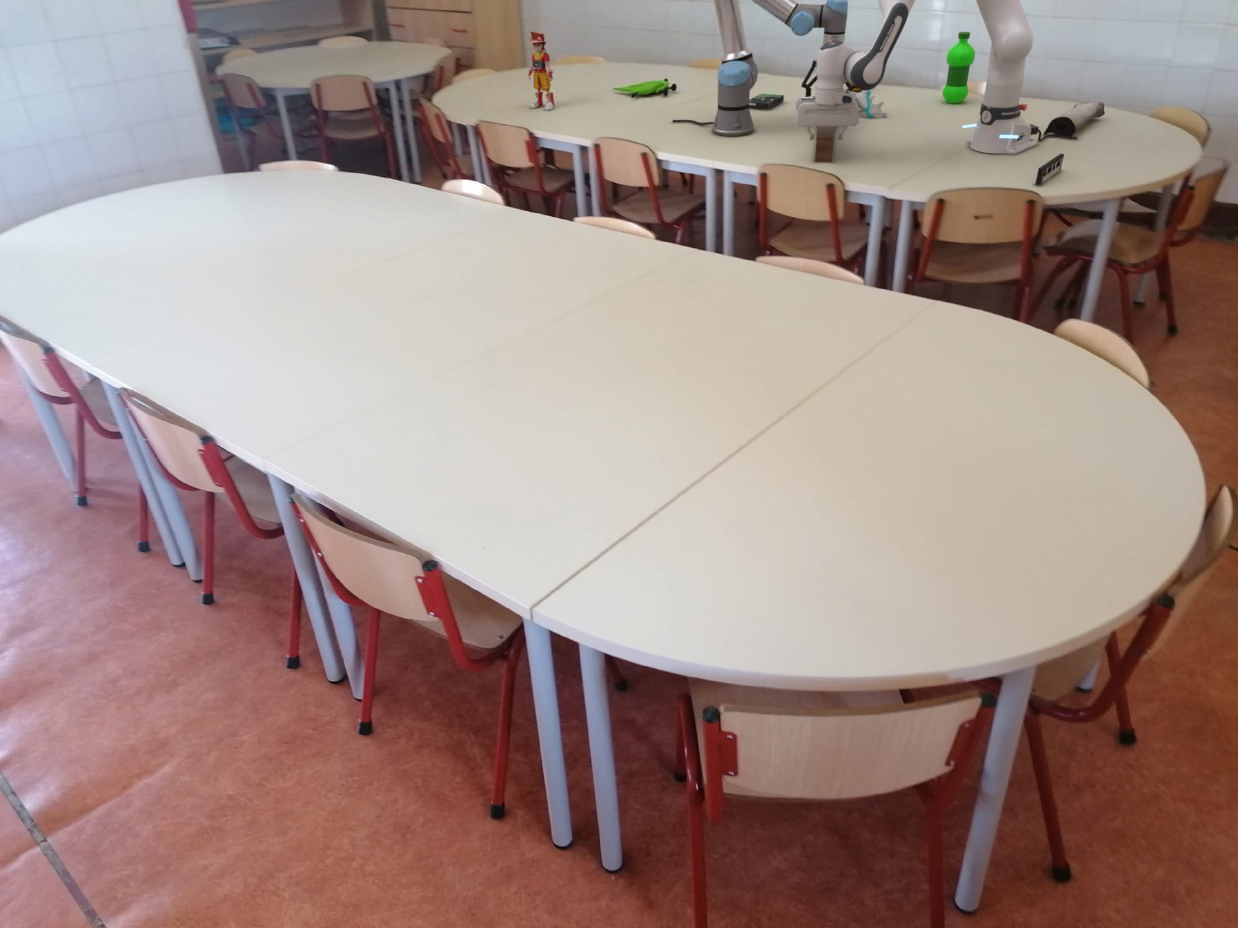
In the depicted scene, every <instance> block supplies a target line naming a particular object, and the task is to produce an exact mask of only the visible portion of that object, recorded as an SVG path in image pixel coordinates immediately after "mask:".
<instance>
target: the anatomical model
mask: <svg viewBox="0 0 1238 928" xmlns="http://www.w3.org/2000/svg"><path fill="white" fill-rule="evenodd" d="M855 94H856V103H857V105H858V110H859V109H860V110H863V111H864V112H865V114H866V116H867V117H868V118H869V119H870V118H875V117H878V116H879V117H880V116H882V117H885V116H887V115H888V111H883V110H882V109H881V108H882V106H883V105H884V104H885V102H884V101H880V102H878V103H873V102H872V101H873V100H874V98H875V96H876V95H872V92H871V90H867V91H864V90H861V91H860V92H858V93H855ZM871 95H872V96H871Z"/></svg>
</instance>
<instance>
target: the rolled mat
mask: <svg viewBox="0 0 1238 928" xmlns="http://www.w3.org/2000/svg"><path fill="white" fill-rule="evenodd" d="M1105 113H1106V112H1105V104H1104V102H1102V101H1096V100H1091V101H1085V102H1079V103H1076V104H1074V105H1073V107H1072V108H1071V109H1069V110H1067V111H1065V112H1063V113H1061V114H1060V115H1058V116H1056V117H1054V118H1053V119H1051V120H1050V122H1049V123H1048V125H1047V127H1046V129H1045V130H1044V132H1043V136H1046V135H1049V134H1056V135H1062V136H1073V137H1074V135H1076V134H1077V132H1078V131H1079V130H1080V129H1081V128H1082V127H1083V126H1084V125H1086V124H1087V123H1088V122H1089V121H1090V120H1091V119H1095V118H1096V119H1097V118H1101V117H1103V116H1104V115H1105Z"/></svg>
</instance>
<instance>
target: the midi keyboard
mask: <svg viewBox="0 0 1238 928" xmlns="http://www.w3.org/2000/svg"><path fill="white" fill-rule="evenodd" d="M1064 157H1065V153H1059V154H1058V155H1056V156H1055V157H1052V159H1051V160H1049V161H1047V162H1045V164H1042V165H1041V166H1039V167H1038V169H1037V175H1036V179H1035V186H1040V185H1042V183H1044V182H1045V181H1047V180H1048V179H1049V178H1051V177H1052V176H1054V175H1055V174H1056V173H1058V172H1060V171H1061V170H1062V165H1063V161H1064Z"/></svg>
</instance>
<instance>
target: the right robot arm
mask: <svg viewBox="0 0 1238 928" xmlns="http://www.w3.org/2000/svg"><path fill="white" fill-rule="evenodd" d="M915 2H916V0H878V5H879V8H880V10H881V14H882V24H881V26H880V29H879V31H878V33H877V34H876V37H875V38H874V41H873V43H872V45H871V47H870V49H869V50H868V51H867V52H865V51H863V50H861V49H857V48H854V47H851V46H849V45H848V44H846V43H845V41H844V42H842V41H832V42H828V43H826V44H824V45H823V44H822V46H820V48H819V49H818V55H817V60H816V61H817V67H816V73H815V75H817V81H816V82H815V90H814V95H813V96H812V95H811V96H810V97H805V96H801V97H799V98H798V99H797V100H796V102H795V109H796V111H797V114H796V120H795V121H796V123H795V125H796V126H797V127H799V128H800V127H803V128H804V127H806V132H807V133H808V135H809V139H808V140H809V141H814V140H815V133H812V131H811V130H812V127H818V126H835V127H842V131H841V132H839V133H838V136H837V140H838V141H842V140H843V139H844V135H845V133H846V131H847V130H848V127H856V126H857V125H858V124H859V108H858V105H857V103H856V94H857V93H856V92H854V91H852V92H851V91H848V90H847V89H845V88H844V85H845V82H850V83H852V84H854V85H855V86H856V87H857V88H858V89H860V90H861V91H862V90H864V91H867V90H868V91H869V90H870V91H872V90H874V89H875V88H876V87H878V86H879V84H881V82H882V80H883V78H884V75H885V73H886V68H887V64H888V61H889V58H890V56H891V54H892V52H893V50H894V48H895V46H896V44H897V42H898V40H899V37H900V36H901V34H902V32H903V29H904V27H905V26H906V23H907V21H908V18H909V15H910V12H911V10H912V7H913V6H914V4H915ZM975 2H976V5H977V7H978V10H979V12H980V15H981V18H982V20H983V23H984V25H985V28H986V30H987V34H988V36H989V38H990V42H991V45H990V51H989V59H988V67H987V78H986V84H985V88H984V95H983V101H982V103H981V104H980V108H979V117H978V118H977V121H976V123H974V124H973V123H972V124H965V125H962V128H963V129H964V128H966V129H967V128H973V127H974V132H973V135H972V138H971V139H970V140H969V143H970V146H969V147H970V149H972V150H973V151H976V152H979V153H983V154H984V153H985V154H1006V155H1007V154H1008V155H1016V154H1018V153H1021V152H1024V151H1025V150H1029V149H1030V148H1033V147H1035V146H1037V145H1038V142H1042V141H1044V140H1045V139H1046V138H1051V137H1052V138H1053V137H1055V138H1063V139H1072V140H1078V136H1074V135H1073V136H1062V135H1056V134H1055V133H1048V134H1046V135H1043V137H1042V131H1041V130H1040V127H1039V126H1037V125H1034V124H1031V123H1029V122H1027V121H1026V120H1025V119H1024V117H1023V116H1022V115H1021V114H1022V112H1021V111H1023V112H1025V111H1026V110H1027V109H1028V105H1027V104H1026V103H1020V99H1021V94H1022V90H1023V84H1024V80H1025V69H1026V68H1025V66H1026V59H1027V57H1028V55H1029V54H1030V52H1031V51H1032V48H1033V45H1034V34H1033V32H1032V30H1031V26H1030V24H1029V22H1028V19H1027V16H1026V13H1025V11H1024V8H1023V4H1022V2H1021V1H1020V0H975ZM1034 135H1035V136H1036V135H1038V137H1037V140H1038V141H1036V140H1035V139H1033V138H1031V137H1032V136H1034Z"/></svg>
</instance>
